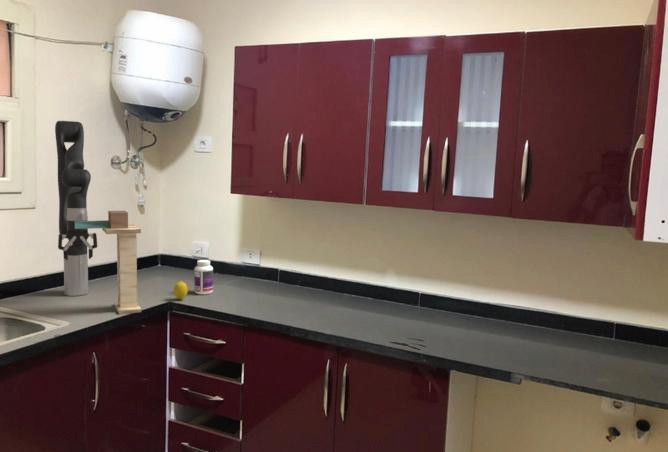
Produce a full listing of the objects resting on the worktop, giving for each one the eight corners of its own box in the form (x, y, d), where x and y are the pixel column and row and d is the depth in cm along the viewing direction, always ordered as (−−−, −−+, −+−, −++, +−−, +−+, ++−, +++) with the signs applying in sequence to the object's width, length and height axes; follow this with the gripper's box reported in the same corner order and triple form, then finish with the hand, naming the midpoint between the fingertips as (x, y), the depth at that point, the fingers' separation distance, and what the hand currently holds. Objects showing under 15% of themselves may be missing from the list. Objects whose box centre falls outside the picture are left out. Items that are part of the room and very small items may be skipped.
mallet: (74, 227, 208) (73, 211, 207) (124, 225, 216) (124, 210, 215) (75, 229, 201) (75, 213, 200) (128, 228, 209) (127, 212, 208)
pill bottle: (214, 291, 249) (214, 259, 247) (211, 295, 241) (211, 262, 239) (196, 290, 249) (196, 259, 247) (192, 295, 241) (192, 262, 239)
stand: (103, 305, 219) (101, 225, 215) (135, 302, 225) (134, 224, 221) (107, 315, 206) (106, 230, 202) (141, 312, 212) (140, 229, 208)
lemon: (183, 301, 229) (183, 282, 228) (171, 300, 230) (171, 281, 229) (189, 298, 234) (189, 280, 233) (177, 297, 235) (177, 279, 234)
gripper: (95, 218, 228) (96, 257, 230) (57, 218, 222) (58, 259, 223) (97, 219, 222) (98, 259, 223) (57, 220, 215) (59, 261, 216)
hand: (78, 259), depth 223 cm, fingers open, 8 cm apart
